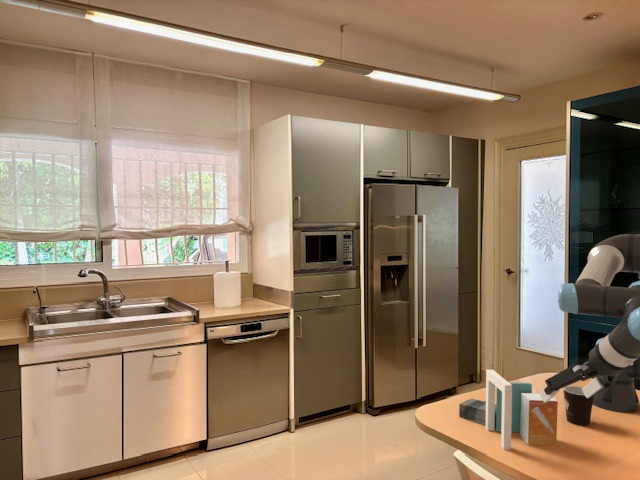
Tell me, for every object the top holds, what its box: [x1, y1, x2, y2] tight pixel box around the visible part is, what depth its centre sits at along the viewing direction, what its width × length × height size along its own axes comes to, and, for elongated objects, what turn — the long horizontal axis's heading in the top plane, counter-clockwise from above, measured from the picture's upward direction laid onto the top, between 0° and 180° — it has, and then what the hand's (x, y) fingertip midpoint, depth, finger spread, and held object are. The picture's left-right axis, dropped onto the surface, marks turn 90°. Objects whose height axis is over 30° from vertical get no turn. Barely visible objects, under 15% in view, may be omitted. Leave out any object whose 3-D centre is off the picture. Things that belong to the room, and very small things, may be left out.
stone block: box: [458, 398, 497, 429], centre depth 154 cm, size 9×14×5 cm, turn 43°
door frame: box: [484, 369, 512, 451], centre depth 141 cm, size 2×14×18 cm, turn 0°
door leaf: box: [495, 381, 533, 433], centre depth 144 cm, size 2×10×14 cm, turn 85°
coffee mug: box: [563, 385, 594, 427], centre depth 154 cm, size 12×9×10 cm
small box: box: [519, 392, 559, 447], centre depth 139 cm, size 8×6×13 cm
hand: (564, 395), depth 129 cm, fingers open, 13 cm apart
